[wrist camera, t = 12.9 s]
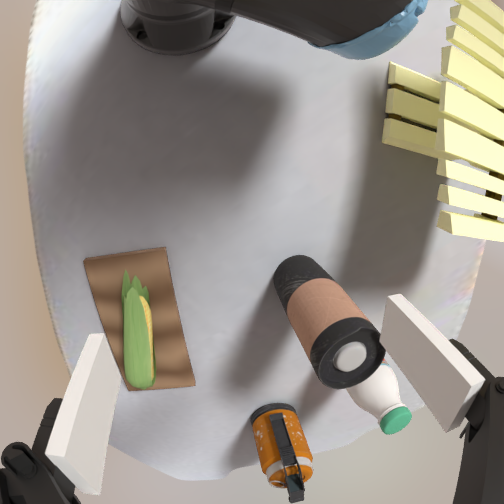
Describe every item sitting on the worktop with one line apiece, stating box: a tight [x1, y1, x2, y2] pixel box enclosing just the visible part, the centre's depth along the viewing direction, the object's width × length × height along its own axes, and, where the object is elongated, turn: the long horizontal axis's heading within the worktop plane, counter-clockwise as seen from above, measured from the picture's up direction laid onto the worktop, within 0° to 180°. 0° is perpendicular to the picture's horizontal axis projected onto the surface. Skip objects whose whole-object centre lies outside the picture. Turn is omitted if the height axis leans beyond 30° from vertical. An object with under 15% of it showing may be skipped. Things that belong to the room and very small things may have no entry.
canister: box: [251, 403, 313, 503], centre depth 47 cm, size 9×11×20 cm
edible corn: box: [122, 269, 156, 390], centre depth 42 cm, size 5×20×4 cm
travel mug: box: [274, 255, 386, 389], centre depth 38 cm, size 8×8×20 cm
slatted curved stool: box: [382, 0, 504, 242], centre depth 33 cm, size 30×16×18 cm, turn 173°
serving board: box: [83, 247, 195, 391], centre depth 45 cm, size 24×12×1 cm, turn 5°
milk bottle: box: [346, 359, 412, 434], centre depth 44 cm, size 8×8×20 cm
